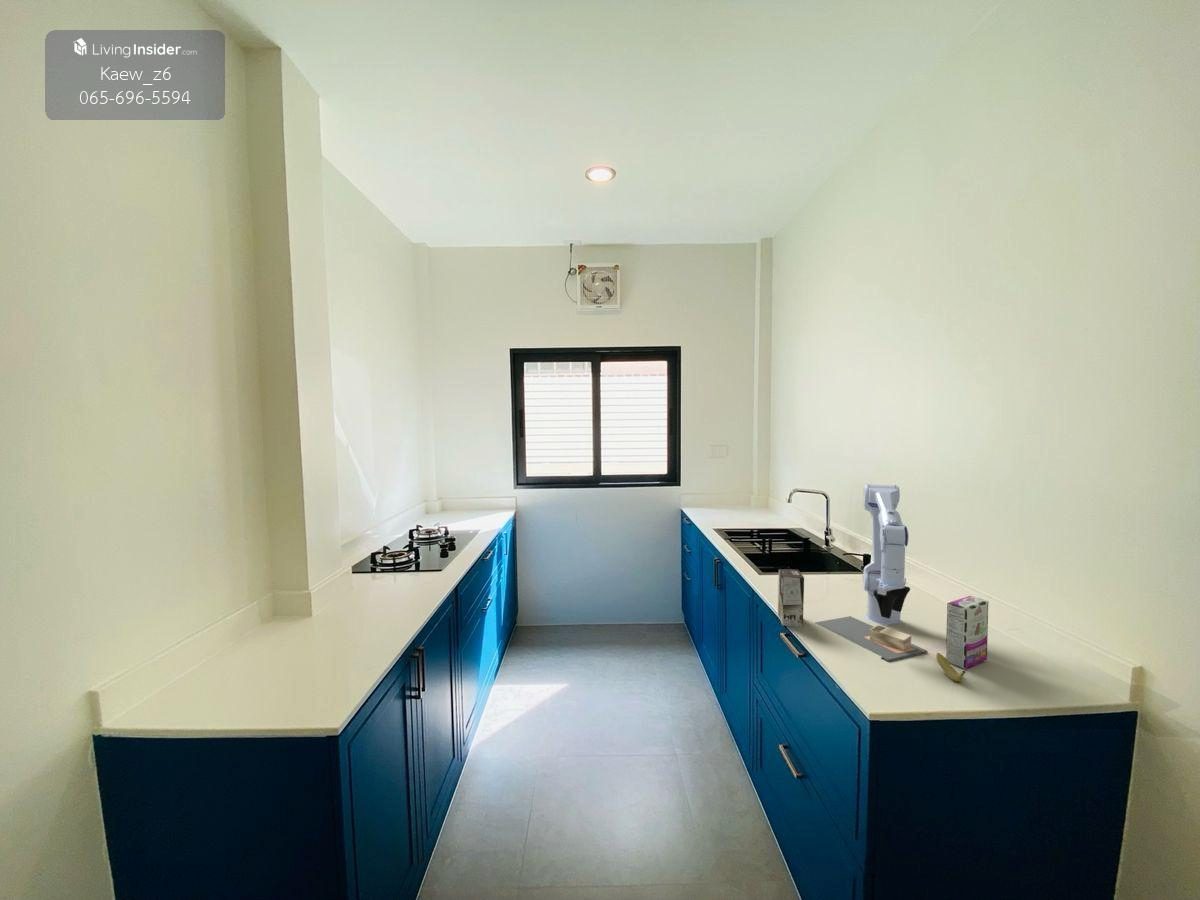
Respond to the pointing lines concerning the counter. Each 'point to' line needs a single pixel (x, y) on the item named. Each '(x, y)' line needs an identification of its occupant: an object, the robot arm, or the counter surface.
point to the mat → (867, 638)
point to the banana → (949, 668)
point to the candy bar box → (967, 631)
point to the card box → (890, 637)
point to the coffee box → (790, 597)
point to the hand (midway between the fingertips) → (891, 613)
